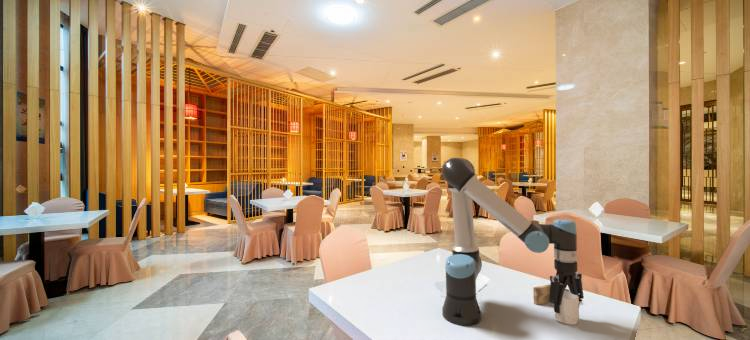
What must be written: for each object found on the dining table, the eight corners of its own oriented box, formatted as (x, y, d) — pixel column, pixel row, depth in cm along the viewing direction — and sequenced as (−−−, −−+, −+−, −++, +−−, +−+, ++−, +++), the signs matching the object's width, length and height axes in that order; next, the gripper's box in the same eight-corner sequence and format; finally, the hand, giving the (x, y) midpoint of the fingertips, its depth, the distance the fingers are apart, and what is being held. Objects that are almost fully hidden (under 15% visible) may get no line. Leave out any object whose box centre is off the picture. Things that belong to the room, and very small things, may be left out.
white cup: (583, 326, 108) (582, 299, 108) (560, 325, 110) (559, 298, 110) (573, 316, 116) (573, 291, 116) (551, 314, 117) (551, 290, 117)
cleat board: (541, 307, 124) (541, 290, 124) (533, 303, 128) (533, 287, 128) (569, 301, 129) (569, 285, 129) (561, 297, 132) (561, 282, 132)
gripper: (553, 265, 106) (555, 328, 106) (594, 259, 112) (596, 318, 112) (536, 260, 113) (538, 318, 113) (575, 254, 119) (577, 310, 119)
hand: (567, 318), depth 113 cm, fingers closed on white cup, 7 cm apart
